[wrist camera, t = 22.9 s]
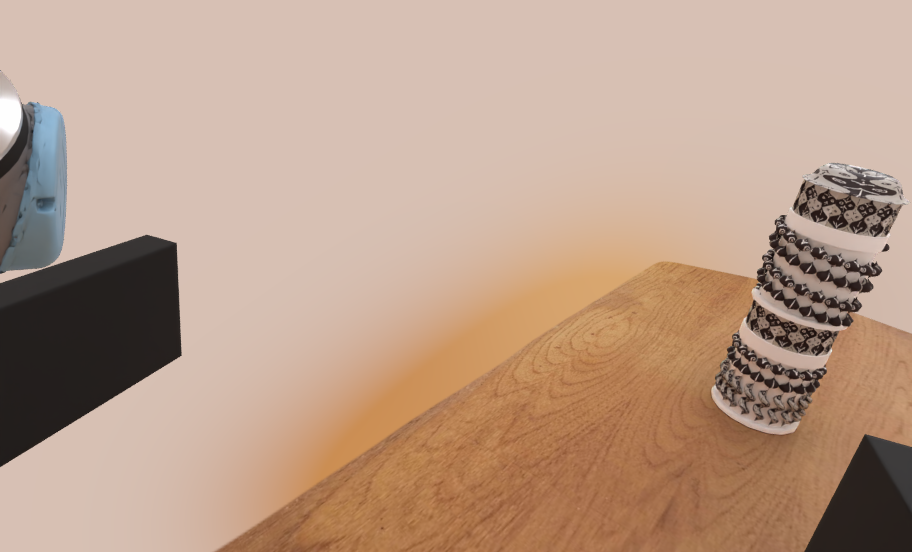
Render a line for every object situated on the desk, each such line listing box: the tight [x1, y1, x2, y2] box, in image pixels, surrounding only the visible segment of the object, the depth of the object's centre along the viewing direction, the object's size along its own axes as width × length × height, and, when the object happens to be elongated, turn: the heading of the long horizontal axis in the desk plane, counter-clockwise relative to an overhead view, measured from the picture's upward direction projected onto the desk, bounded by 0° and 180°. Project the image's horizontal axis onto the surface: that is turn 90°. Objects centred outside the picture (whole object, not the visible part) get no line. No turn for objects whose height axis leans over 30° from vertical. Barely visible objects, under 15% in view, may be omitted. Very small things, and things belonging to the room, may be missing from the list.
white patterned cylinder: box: [711, 163, 910, 435], centre depth 54 cm, size 9×9×25 cm
